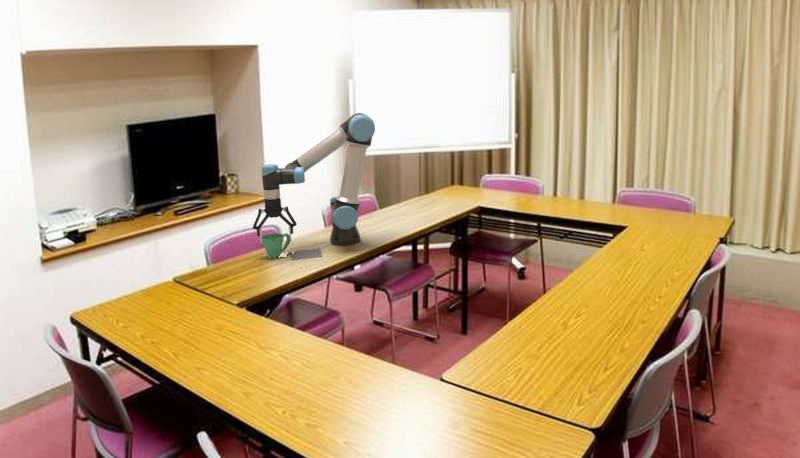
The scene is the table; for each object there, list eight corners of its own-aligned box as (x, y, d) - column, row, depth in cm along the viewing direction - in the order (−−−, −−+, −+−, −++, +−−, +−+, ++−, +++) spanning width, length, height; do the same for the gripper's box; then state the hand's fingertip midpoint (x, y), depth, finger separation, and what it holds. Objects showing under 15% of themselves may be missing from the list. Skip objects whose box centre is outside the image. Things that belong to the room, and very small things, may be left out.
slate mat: (320, 248, 332) (320, 248, 331) (321, 256, 318) (321, 256, 318) (291, 251, 330) (291, 251, 330) (291, 259, 316) (291, 259, 316)
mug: (272, 260, 316) (270, 240, 314) (259, 257, 322) (257, 237, 320) (297, 253, 326) (295, 232, 324) (284, 250, 333) (282, 230, 330)
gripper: (299, 194, 323) (302, 237, 329) (245, 198, 320) (249, 241, 325) (299, 197, 316) (302, 241, 321) (244, 201, 313) (248, 245, 318)
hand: (276, 241), depth 323 cm, fingers open, 13 cm apart
